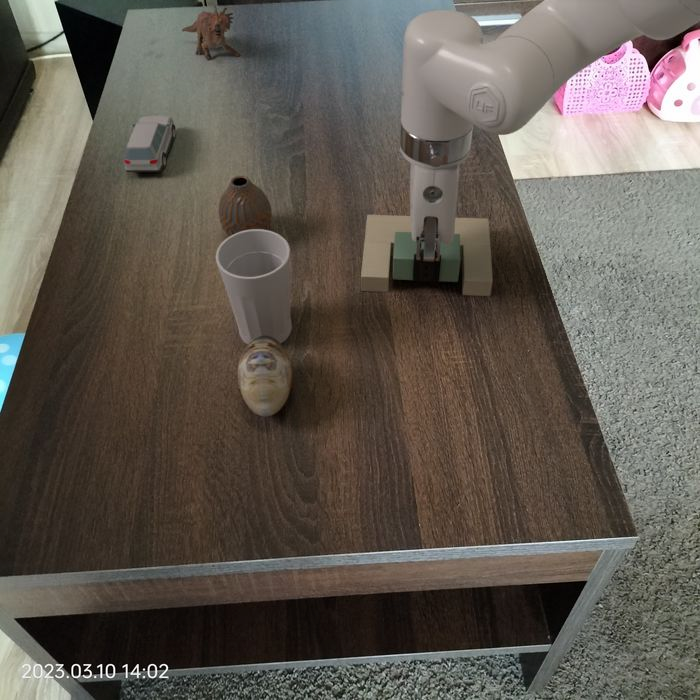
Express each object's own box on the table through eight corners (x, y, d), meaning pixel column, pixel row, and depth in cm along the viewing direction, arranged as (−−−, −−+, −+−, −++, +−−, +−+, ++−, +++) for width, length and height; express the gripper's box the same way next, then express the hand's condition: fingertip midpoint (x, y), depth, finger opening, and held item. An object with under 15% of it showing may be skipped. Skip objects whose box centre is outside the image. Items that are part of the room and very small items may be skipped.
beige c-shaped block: (486, 233, 97) (488, 218, 96) (490, 296, 90) (492, 281, 88) (367, 229, 99) (367, 214, 97) (361, 291, 91) (360, 276, 89)
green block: (457, 254, 92) (459, 233, 90) (457, 282, 89) (460, 261, 86) (394, 252, 93) (394, 231, 90) (392, 279, 90) (393, 258, 87)
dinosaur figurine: (250, 60, 130) (243, 7, 123) (223, 71, 127) (214, 19, 120) (207, 34, 137) (198, -17, 130) (180, 45, 134) (170, -7, 127)
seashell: (295, 429, 77) (288, 382, 71) (241, 433, 77) (230, 386, 71) (293, 361, 84) (287, 313, 78) (244, 364, 83) (233, 316, 77)
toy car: (179, 130, 116) (173, 101, 112) (163, 179, 107) (156, 150, 103) (144, 130, 116) (136, 102, 112) (125, 179, 107) (116, 150, 104)
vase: (252, 211, 102) (244, 158, 95) (284, 234, 98) (278, 180, 92) (213, 234, 99) (201, 181, 92) (245, 258, 95) (235, 205, 89)
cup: (307, 341, 86) (299, 266, 76) (242, 361, 84) (226, 287, 75) (286, 297, 90) (276, 221, 81) (224, 315, 89) (207, 240, 80)
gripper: (473, 187, 71) (457, 315, 85) (469, 95, 82) (455, 221, 96) (397, 184, 72) (393, 312, 85) (403, 93, 83) (398, 219, 96)
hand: (426, 263), depth 90 cm, fingers closed on green block, 4 cm apart
